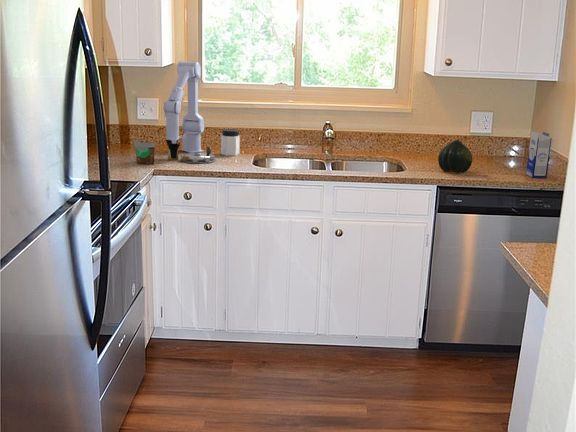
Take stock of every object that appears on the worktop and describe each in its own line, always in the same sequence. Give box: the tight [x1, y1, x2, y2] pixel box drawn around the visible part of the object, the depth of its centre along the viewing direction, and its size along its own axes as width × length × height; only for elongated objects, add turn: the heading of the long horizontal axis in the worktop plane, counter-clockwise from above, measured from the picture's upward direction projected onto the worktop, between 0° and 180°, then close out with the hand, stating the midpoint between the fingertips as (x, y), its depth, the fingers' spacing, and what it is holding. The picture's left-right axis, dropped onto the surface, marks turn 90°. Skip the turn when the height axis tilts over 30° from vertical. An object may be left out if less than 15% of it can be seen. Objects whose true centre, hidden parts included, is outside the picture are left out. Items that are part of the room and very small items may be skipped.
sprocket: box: [180, 146, 216, 162], centre depth 304 cm, size 15×15×6 cm
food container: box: [133, 138, 157, 166], centre depth 292 cm, size 12×6×10 cm, turn 47°
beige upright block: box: [167, 148, 179, 162], centre depth 304 cm, size 3×3×5 cm
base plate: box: [180, 158, 216, 165], centre depth 304 cm, size 16×16×1 cm
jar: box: [220, 128, 241, 157], centre depth 320 cm, size 9×8×12 cm
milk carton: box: [525, 130, 553, 179], centre depth 291 cm, size 7×7×20 cm
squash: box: [437, 139, 473, 175], centre depth 297 cm, size 14×15×15 cm
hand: (172, 156), depth 304 cm, fingers open, 7 cm apart
